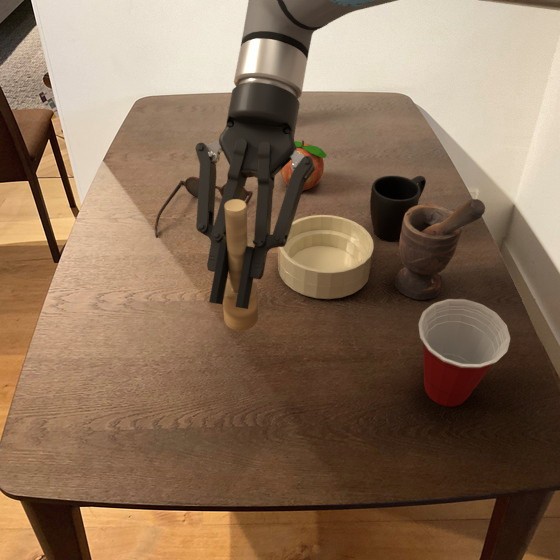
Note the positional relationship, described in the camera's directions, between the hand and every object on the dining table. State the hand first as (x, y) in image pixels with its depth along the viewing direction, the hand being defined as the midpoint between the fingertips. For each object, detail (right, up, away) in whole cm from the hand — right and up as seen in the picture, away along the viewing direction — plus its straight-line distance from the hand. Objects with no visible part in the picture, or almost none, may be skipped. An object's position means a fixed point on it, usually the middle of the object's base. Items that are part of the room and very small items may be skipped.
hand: (228, 305), depth 62 cm
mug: (+27, +12, +44) cm, 53 cm away
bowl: (+13, +4, +35) cm, 37 cm away
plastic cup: (+28, -12, +16) cm, 34 cm away
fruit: (+10, +22, +55) cm, 60 cm away
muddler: (+1, -2, +7) cm, 7 cm away
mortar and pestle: (+29, +1, +31) cm, 43 cm away
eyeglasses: (-9, +14, +45) cm, 48 cm away
